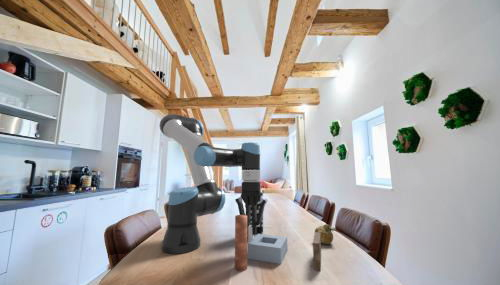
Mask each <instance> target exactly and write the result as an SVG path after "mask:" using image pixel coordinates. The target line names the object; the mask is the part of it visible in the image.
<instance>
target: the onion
mask: <svg viewBox="0 0 500 285" xmlns="http://www.w3.org/2000/svg"><path fill="white" fill-rule="evenodd" d="M336 231H337V228H336V227H332V226H331V225H330V224H328V223H327V224H326V223H325V224H323V225H322V226H321V225H320V226H318V227H316V228H315V229H314V233H315V232H320V235H321V244H323V245H330V244H332V243H333V241H334V234H333V232H336Z"/></svg>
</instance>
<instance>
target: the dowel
mask: <svg viewBox="0 0 500 285" xmlns="http://www.w3.org/2000/svg"><path fill="white" fill-rule="evenodd" d="M234 217H235V218H234V222H235V223H234V270H236V271H239V272H243V271H246V270H247V269H248V238H247V215H246V214H245V215H240V214H237V215H235V216H234Z"/></svg>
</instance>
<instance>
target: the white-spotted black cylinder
mask: <svg viewBox="0 0 500 285" xmlns="http://www.w3.org/2000/svg"><path fill="white" fill-rule="evenodd" d="M260 193H261V195H262V197H263V198H264V193H263V192H260ZM260 204H261V203H260V200H259V202H258V203H257V217H258V213H259V208H260ZM250 225H252V208H251V224H250ZM256 230H257V233H256V235H257V234H264V215H263V216H262V221H261V224H259V225H257V226H256ZM256 235H254V237H255V236H256ZM247 239H248V234H247Z"/></svg>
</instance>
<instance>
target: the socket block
mask: <svg viewBox="0 0 500 285" xmlns="http://www.w3.org/2000/svg"><path fill="white" fill-rule="evenodd" d="M287 253H288V237H287V236H281V235H274V234H273V235H272V234H264V233H263V234H257V235H256V236H255V237H254V238H253V239H252V240H251V241H250V242H249V243H248V242H247V260H248V259H249V260H255V261H260V262H266V263H272V264H278V265H282V263H283V261H284V259H285V257H286V255H287Z"/></svg>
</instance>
